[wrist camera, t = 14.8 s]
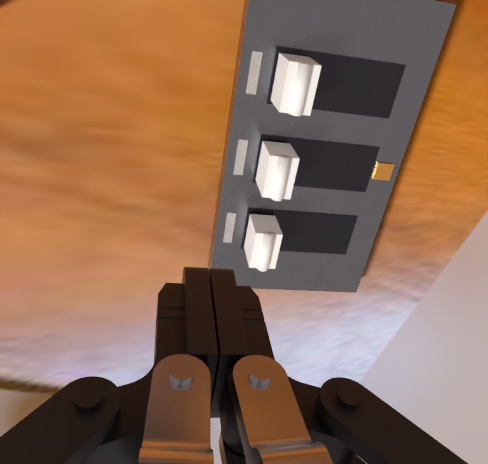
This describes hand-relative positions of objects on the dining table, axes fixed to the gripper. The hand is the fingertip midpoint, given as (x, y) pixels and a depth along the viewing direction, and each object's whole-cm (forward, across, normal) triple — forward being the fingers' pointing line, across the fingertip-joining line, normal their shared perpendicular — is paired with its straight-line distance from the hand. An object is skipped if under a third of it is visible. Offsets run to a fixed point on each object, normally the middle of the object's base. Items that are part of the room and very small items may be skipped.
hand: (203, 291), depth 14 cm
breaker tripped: (+25, -8, +5) cm, 26 cm away
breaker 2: (+25, -8, -2) cm, 26 cm away
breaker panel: (+27, -12, +5) cm, 30 cm away
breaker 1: (+25, -8, +12) cm, 29 cm away
